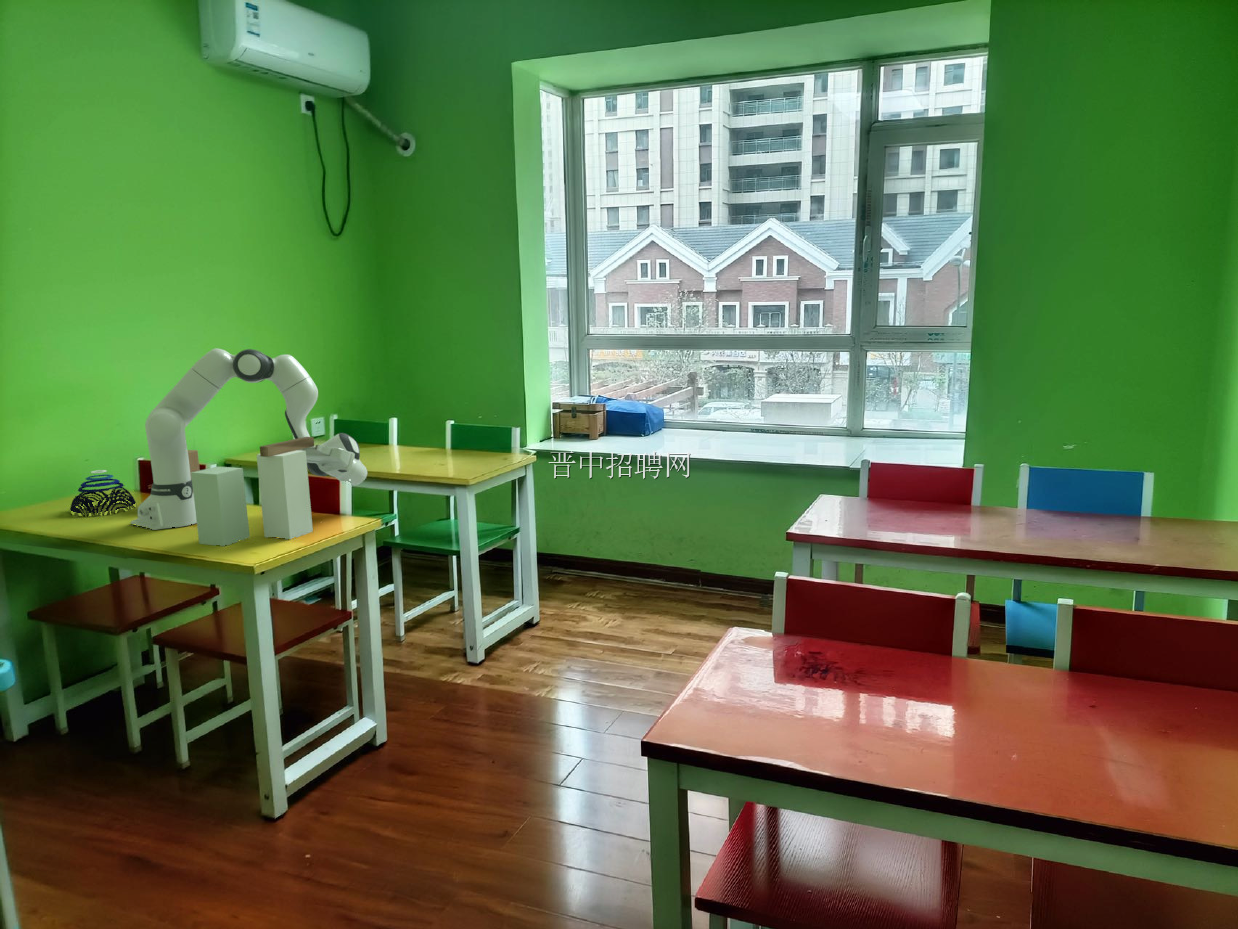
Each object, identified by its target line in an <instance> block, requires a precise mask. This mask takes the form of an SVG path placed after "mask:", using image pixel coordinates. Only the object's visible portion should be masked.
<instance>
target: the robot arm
mask: <svg viewBox="0 0 1238 929" xmlns="http://www.w3.org/2000/svg"><path fill="white" fill-rule="evenodd" d="M233 378H238V379H241V380H242V381H243V382H246V383H250V384H255V383H257V384H258V383H261V382H264V381H265V380H268V381H270V382H272V384H274V385H275V386H276V387H277V389H278V391H279V392H280V394H281V395H282V397H283V399H284V401H285V406H286V407H285V408H286V409H285V410H284V416H285V421H286V423H287V425H288V427H289V428H290V431H291V434H292V436H293V438H294V439H298V438H303V437H311V435H310V434H309V431H308V428H307V426H306V420H307V416H308V415H309V413H310V412H311V411H312V409H313V408H314V407H315V405H316V403H317V401H318V398H319V390H318V387H317V385H316V383H315V382H314V380H313V378H312V376H310V374H309V373H308V371H307V370H306V369H305V368H304V366H302V364H301V363H300V362H299V361H298V359H296V358H295V357H294V356H292V355H291V354H288V353H287V354H286V353H285V354H280V355H277V356H275V357H270V356H269V355H267V354H265V353H263V352H262V351H260V350H258V349H251V348H248V349H243V350H240V352H238V353H237V354H231V353H230V352H228V351H227V350H224V349H221V348H213V349H211V350H209V351H208V352H206V353H205V354H204V355H203V356H201V357H200V358H199V359H198V360H197V361H196V362H195V363H194V364H193V365H192V366H191V367H190V368H189V370H187V372H185V374H184V375H183V376H182V377H181V378H180V379H179V381H178V382H177V383H176V384H175V385H174V386H173V387H172V388H171V389H170V391H168V393H167V394H166V395H165V396H164V397H163V398H162V399H161V400H160V401H159V403H157V405H156V406H155V407H153V409H152V410H151V412H150V413H149V414H148V416H147V418H146V420H145V433H146V434H145V435H146V440H147V447H148V453H149V458H150V465H151V473H152V480H153V483H152V484H149V485H147V487H148V489H151V490H150V495H149V496H148V497H147V498H146V499H144V501H142V502H141V503H140V504H139V505H138V507H137V518H135V519H133V520H131V521H130V523H131V524H136V525H139V526H142V527H147V528H150V529H149V530H151V529H152V530H151V531H153V530H155V531H157V530H162V529H171V528H172V527H175V528H180V527H181V528H182V527H187V526H191V524H192V525H195V524H197V520H196V511H195V502H194V494H193V485H192V479H191V474H190V466H189V457H188V450H189V449H188V445H187V438H186V429H185V428H186V427H187V426H189V424H190V423H191V422H192V421H193V420H194V419H195V418H196V417H197V416H198V414H199V413H200V412H202V411H203V410H204V409H205V408H206V406H207V405H208V404H209V403H210V402H211V400H212V399H214V398H215V396H216V395H217V394H218V393H219V391H220V390H221V389H222V388H223V387H224V386H225V385H226V383H228V382H229V381H230V380H232V379H233ZM360 450H361V449H360V446H359V444H358V442H357V440H355V438H354V437H353V436H351V435H349V434H347V433H344V432H339V433H337V434H335V435H334V436H333V437H331V438H329V439H328V440H327V441H325V442H323V443H321V444H316V445H315V444H314V447H309V448H305V449H300V451H306V460H307V471H309V473H311V474H312V475H315V476H318V477H326V476H327V475H329V476H330V477H333V478H336V479H337V480H338V481H340V482H342V481H345V482H346V481H348V482H350V483H351V485H350V486H358V485H360V484H362V483H363V482H364V481H365V480H366V479H367V477H368V470H367V467H366V466H365V465H364V464H363V462H362V461H361V459H360V456H361V454H360V452H361V451H360ZM349 479H351V481H349ZM130 523H129V524H130ZM142 527H141V528H142ZM147 528H146V529H147Z"/></svg>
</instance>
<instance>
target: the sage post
mask: <svg viewBox="0 0 1238 929" xmlns="http://www.w3.org/2000/svg"><path fill="white" fill-rule="evenodd" d="M191 476H192V485H193V494H194V502H195V511H196V520H197V523H196V526H197V527H196V529H197V535H198V536H197V537H198V544H200V545H208V546H209V545H210V546H216V545H220V546H219V547H226V546H225V545H227V546H229V545H233V544H236V543H239V542H240V541H239V540H242V541H245V540H247V539H246V538H248V537H250V538H251V536H250V527H249V526H250V525H249V519H248V518H249V515H248V508H247V506H248V505H247V498H246V497H247V496H246V489H245V487H246V486H245V479H244V478H245V477H244V468H243V467H233V466H232V467H231V466H228V467H227V466H214V467H210V468H204V469H200V471H196V472H191ZM244 539H245V540H244ZM248 539H249V538H248ZM238 541H239V542H238ZM232 543H233V544H232Z"/></svg>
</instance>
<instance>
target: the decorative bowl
mask: <svg viewBox="0 0 1238 929" xmlns="http://www.w3.org/2000/svg"><path fill="white" fill-rule="evenodd" d="M106 472H108V470H106V469H98V470H97V469H96V470H92V471H90V474H95V475H90V476H87V477H85V480H86V481H84V482H81V484H80V487H79V488H78V489H77V491H78V492H79V494H78V495H75V497H74V498H73V499H72V502H71V504H70V507H69V511H70V510H71V511H73V512H76V514H77V513H82V514H83V513H84V514H85V515H86V513H91V514H93V513H94V514H95V513H96V514H97V513H98V512H99V513H100V512H102V513H104V512H106V511H108V512H110V511H112V512H113V510H114V511H115V510H117V509H119V510H121V509H120V508H127V507H128V506H129V507H130V506H132V505H133V504H135V503H136V504H137V502H136V500H135V498H134V496H133V495H132V493H131V492H130V491H129V490H128V489H127V488H125V484H124V483H123V482H121V481H120V480H119V479H117V478H114V475H113V474H107V473H106ZM102 473H104V474H102ZM109 481H110V482H109ZM90 483H91V484H90ZM112 485H113V486H112ZM114 485H116V486H114ZM108 486H111V487H108ZM97 487H98V488H97ZM99 487H104V488H99ZM85 488H90V489H85ZM91 488H93V489H91ZM110 490H111V492H110V493H106V492H107V491H110ZM103 500H105V502H104V503H103ZM126 500H128V501H129V502H128V501H126ZM97 501H99V502H98V503H96V505H97V506H95V507H94V506H93V504H92V502H97ZM108 501H109V505H105V504H107V503H108ZM117 501H120V502H119V503H116V502H117ZM122 501H123V502H124V503H122ZM88 503H89V504H88ZM101 503H103V504H102V505H100V504H101ZM113 503H115V504H113ZM126 503H127V504H126ZM83 504H84V505H85V506H83ZM80 505H81V506H83V507H84V509H82V507H81V506H80ZM118 505H121V506H118ZM76 506H78V508H76ZM105 506H106V507H105ZM86 507H87V508H86ZM115 507H116V508H115ZM80 509H81V510H80ZM104 509H105V510H104ZM103 510H104V511H103ZM99 513H98V514H99Z"/></svg>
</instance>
